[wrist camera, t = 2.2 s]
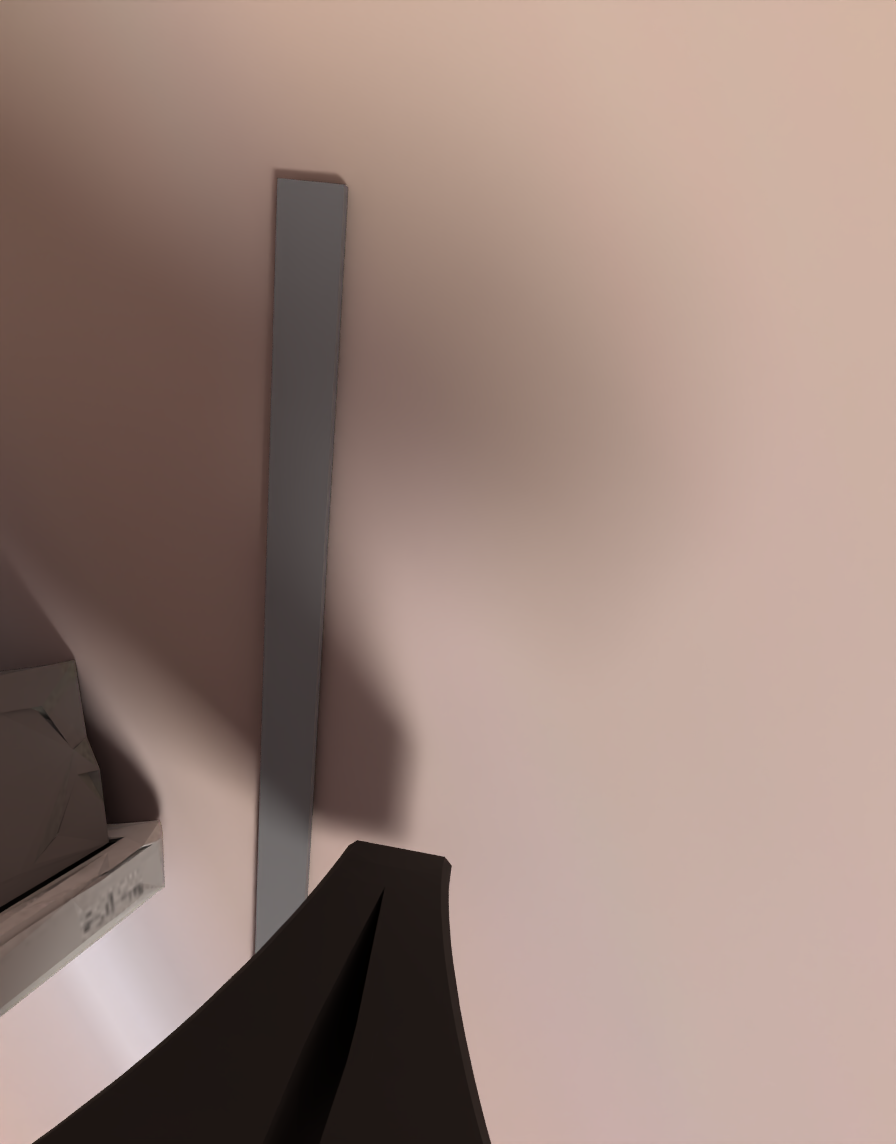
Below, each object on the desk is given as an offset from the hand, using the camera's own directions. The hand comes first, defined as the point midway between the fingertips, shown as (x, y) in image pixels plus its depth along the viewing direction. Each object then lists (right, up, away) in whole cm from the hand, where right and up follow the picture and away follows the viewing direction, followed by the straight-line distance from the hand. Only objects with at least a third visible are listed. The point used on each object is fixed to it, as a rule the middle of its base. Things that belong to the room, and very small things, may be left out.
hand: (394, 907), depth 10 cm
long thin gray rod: (-2, +1, +1) cm, 2 cm away
